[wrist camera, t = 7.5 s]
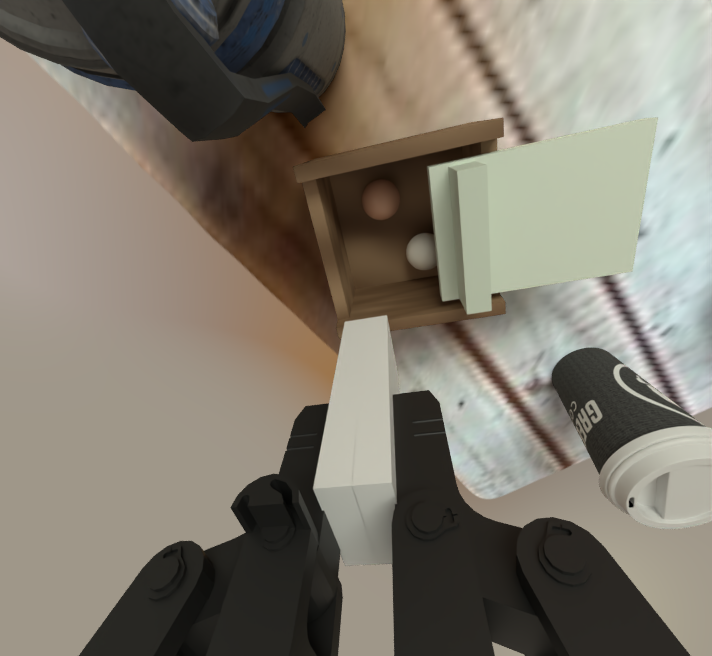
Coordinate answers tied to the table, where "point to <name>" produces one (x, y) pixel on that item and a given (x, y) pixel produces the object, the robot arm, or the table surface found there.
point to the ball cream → (422, 251)
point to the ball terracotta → (380, 199)
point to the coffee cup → (638, 441)
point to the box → (388, 226)
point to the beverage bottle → (192, 54)
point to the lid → (540, 212)
